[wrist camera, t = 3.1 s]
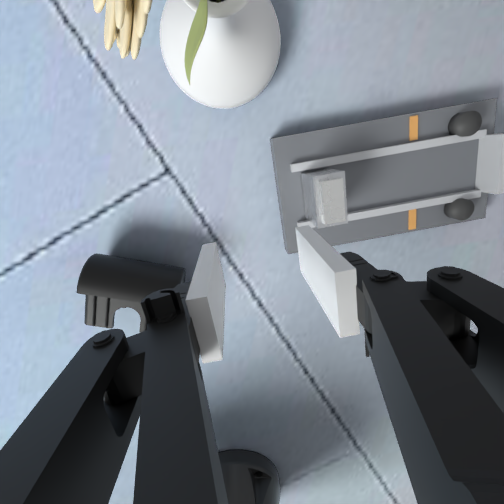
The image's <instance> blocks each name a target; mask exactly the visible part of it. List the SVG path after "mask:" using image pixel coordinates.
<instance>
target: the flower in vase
mask: <svg viewBox="0 0 504 504" xmlns="http://www.w3.org/2000/svg"><path fill="white" fill-rule="evenodd" d="M105 2H106V0H93V4H94V10H95V12H96V13H100V12H101V11H102V9H103V7H104V5H105ZM151 4H152V0H107V2H106V15H105V27H104V43H105V47H106V49H107V51H109V50H110V49H111V47H112V45H113V43H114V41H115V39H117V46H118V48H119V49H120V55H121V58H122V59H124V58H125V57H126V56H128V55H129V53H130V50H131V55H132V58H133V59H134V60H135V59H136V58H137V56H138V53H139V50H140V45H141V38H142V36H143V34H144V32H145V28H146V24H147V18H148V13H149V11H150V9H151ZM160 46H161V51H162V56H163V59H164V62H165V65H166V67H167V69H168V71H169V73H170V75H171V77H172V78H173V80H174V81H175V83H176V84H177V85H178V87H179V88H180V89H181V90H182V91H183V92H184V93H185V94H186V95H188V96H189V97H190V98H192V99H193V100H195V101H197V102H198V103H200V104H203V105H205V106H208V107H212V108H218V109H230V108H236V107H239V106H242V105H244V104H246V103H248V102H250V101H252V100H253V99H255V98H256V97H257V96H258V95H259V94H260V93H261V92H262V91H263V90H264V89H265V88H266V87H267V85H268V84H269V82H270V81H271V79H272V77H273V75H274V73H275V70H276V68H277V65H278V61H279V56H280V49H281V35H280V27H279V22H278V18H277V15H276V12H275V9H274V7H273V5H272V3H271V1H270V0H167V1H166V3H165V6H164V9H163V12H162V16H161V21H160Z"/></svg>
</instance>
